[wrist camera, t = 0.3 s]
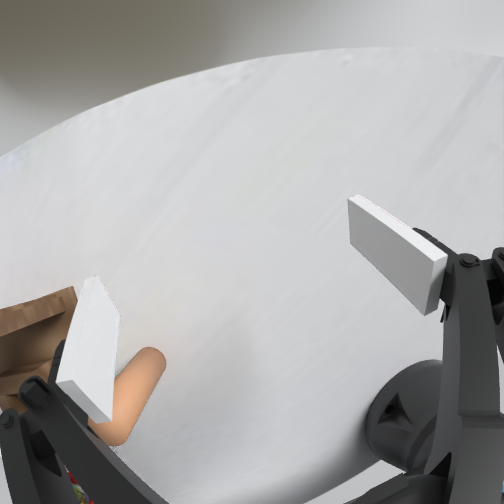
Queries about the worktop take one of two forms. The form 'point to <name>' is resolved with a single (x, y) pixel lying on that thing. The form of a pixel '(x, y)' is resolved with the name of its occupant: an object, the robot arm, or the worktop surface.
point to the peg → (131, 395)
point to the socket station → (31, 341)
